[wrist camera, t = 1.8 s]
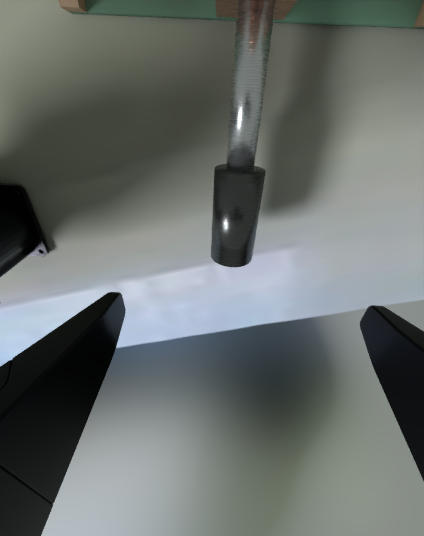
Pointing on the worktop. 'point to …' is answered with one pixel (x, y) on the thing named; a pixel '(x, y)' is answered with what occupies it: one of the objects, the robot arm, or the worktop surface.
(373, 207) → the worktop surface
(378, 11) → the pitch
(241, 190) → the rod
